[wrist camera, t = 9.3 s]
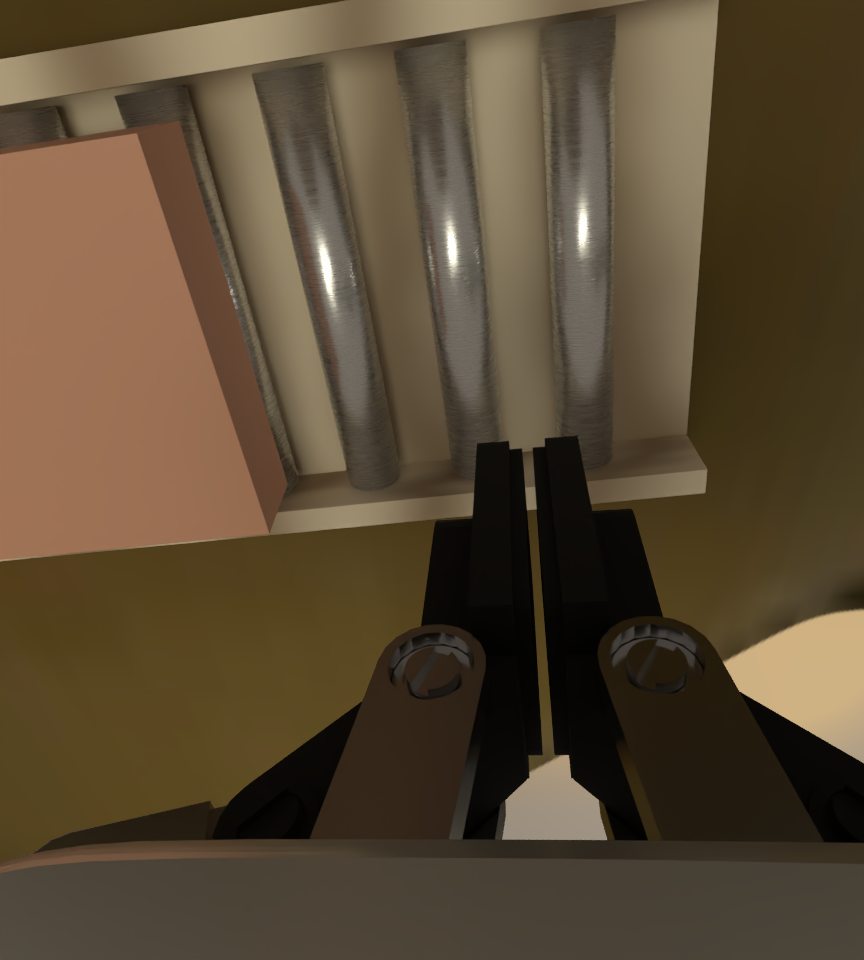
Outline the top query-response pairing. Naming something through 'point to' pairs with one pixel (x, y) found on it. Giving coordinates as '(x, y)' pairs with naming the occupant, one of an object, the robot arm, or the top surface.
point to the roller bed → (395, 235)
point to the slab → (122, 355)
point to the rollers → (426, 240)
